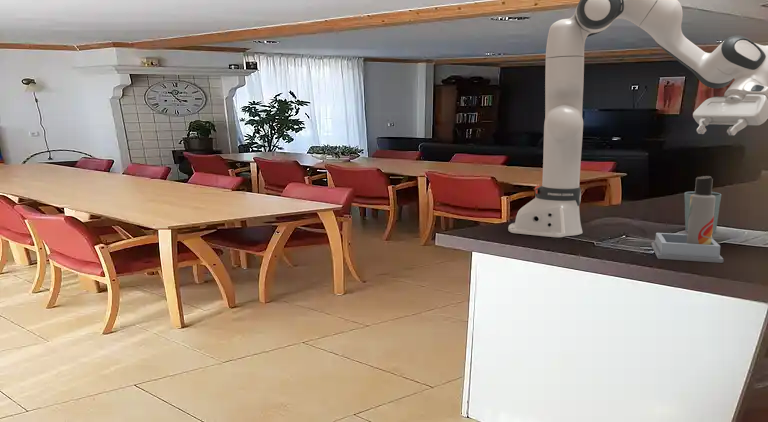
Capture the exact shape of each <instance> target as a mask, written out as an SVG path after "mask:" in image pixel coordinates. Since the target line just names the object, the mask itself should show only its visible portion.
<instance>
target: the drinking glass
mask: <svg viewBox="0 0 768 422" xmlns="http://www.w3.org/2000/svg"><path fill="white" fill-rule="evenodd" d="M692 194H696V193H695V190H694V191H693V190H692V191H685V192H684V222H685V223H684V226H685V227H684V228H685V229H684V230H685V231H686V232H688V220H689V207H690V197H691V195H692ZM710 195H714V196H715V209H714V220H713V232H712V235H713V234H715V233H716V232H717V226H718V220H719V213H720V205H721V201H722V200H721V199H722V194H721V193H719V192H715V191H712V194H710Z"/></svg>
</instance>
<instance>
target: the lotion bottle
mask: <svg viewBox="0 0 768 422" xmlns="http://www.w3.org/2000/svg"><path fill="white" fill-rule="evenodd" d="M713 181H714V178H712V176H710V175H702V176H697V177H696V178H695V188H694V191H695V193H696V194H692V195H691V197H690V207H689V220H688V231H686V232H687V233H686V234H687V243H688V244H705V245H711V243H712V238H713V234H712V232H713V220H714V209H715V196H714V195H710V194H712V192H713Z"/></svg>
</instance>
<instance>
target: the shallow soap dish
mask: <svg viewBox="0 0 768 422" xmlns="http://www.w3.org/2000/svg"><path fill="white" fill-rule="evenodd" d="M651 248H652V250H653V252H654V253H655V257H656V258H657V259H658V260H661V259H662V260H672V261H674V260H675V261H691V262H703V263H705V262H706V263H718V264H719V263H724V258H723V256H721V255H720V254H721V245H720V244H719V243H718V242H717V241H716V240H715V239H714V237H712V243H711V245H705V244H688V243H687V233H686V234H685V233H672V232H671V233H669V232H656V233H655V241H654V242H651Z"/></svg>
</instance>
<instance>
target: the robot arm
mask: <svg viewBox="0 0 768 422" xmlns="http://www.w3.org/2000/svg"><path fill="white" fill-rule="evenodd" d="M683 12H684V11H683V8H682V3H680V1H679V0H579V1H578V4H577V6H576V8H575V11H574V13H573V15H572V16H571V17H570V18H563V19H558V20H557V21H555V22H553V23H552V24H551V26H549V28H548V29H549V30H548V34H547V39H546V48H545V71H544V73H545V75H544V76H545V79H544V80H545V82H544V83H545V84H544V85H545V86H544V88H545V89H544V91H545V93H544V95H545V96H544V97H545V100H544V101H545V102H544V103H545V104H544V105H545V106H544V108H545V109H544V111H545V112H544V113H545V118H544V124H543V152H542V153H543V159H542V163H543V164H542V181H541V182H542V183H541V185H536V186H535V187H534V196H535V197H534V198H533V199H532V200H530V201H529V202H527V203H526V204H525V205H523V206H522V207H521V208H520V209H519V210H518V211H517V214H516V216H515V222H512V223H510V224H509V225H508V228H507V229H508V232H510V233H512V234H521V235H531V236H540V237H549V238H550V237H551V238H564V237H570V236H578V235H582V234H583V228H582V223H581V215H580V204H581V201H582V200H581V199H582V190H581V187H580V181H581V180H580V179H581V163H582V162H581V160H582V148H583V135H584V134H583V132H584V119H583V107H584V106H583V104H584V101H583V100H584V84H585V83H584V80H585V79H584V78H585V77H584V74H585V45H586V39H587V38H588V37H591V36H594V35H597V34H600V33H601V32H603V31H605V30H606V29H607V28H608V27H610V26H611V25H612V23H613V22H614V21H615V20H618V19H619V20H625V21H628V22H630V23H632V24H634V25H635V26H637V27H638V28H640V29H641V30H643V31H645V32H646V33H647V34H648V35H649V36H651V38H652V39H653V40H654V42H655V43H656V45H657V46H658V47H659V48H660V49H662V50H663V51H664V52H666V53H667V54H668V55H669V56H671V57H672V58H674V59H675V60H676V61H677V62H679V63H680V64H681V65H683V66H684V67H685V68H687V69H688V70H689V71H690V72H692V73H693V74H694V76H695V77H696V78H697V80H699V82H700V83H701V84H702V85H704V86H705V87H708V88H709V89H710V88H711V89H723V88H725V87H727V86H728V85H730V86H729V87H728V88H727V89H726V91H724V94H723V95H722V96H718V95H717V96H716V95H715V96H713V97H709V98H707V99H706V100H704V101H703V102H702V103H701V104H700V105H699V106H698V107H697V108H696V109H695V110H694V111H693V112H692V117H693V119H694V121H695V122H696V123H697V124H698V127H697V128H696V133H697V135H704V134H705V133H706V132H707V128H706V126H709V125H731V126H729V127H728V128H727V130H726V133H727V134H728V136H735V135H736V134H738V132H740V131H741V130H743V129H745V128H746V127H747V126H760V125H762V124H765V122H766V121H767V120H768V45H762V44H759V43H756V42H754V41H753V40H751V38H748V37H746V36H743V35H732V36H729V37H726V39H724V40H723V41H722V42H721V43H720V44H719V45H718V46H717V47H716V48H715V49H714V50H713V51H712V52H706V51H704V50H703V49H702V48H700V47H698V46H697V45H696V44H695V43H693V42H692V41H691V40H689V39H688V38H687V37H686V36H685V35H684V33H683V30H682V23H683V18H684V17H683V15H684V13H683ZM731 82H732V83H731ZM732 125H733V126H732Z"/></svg>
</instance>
